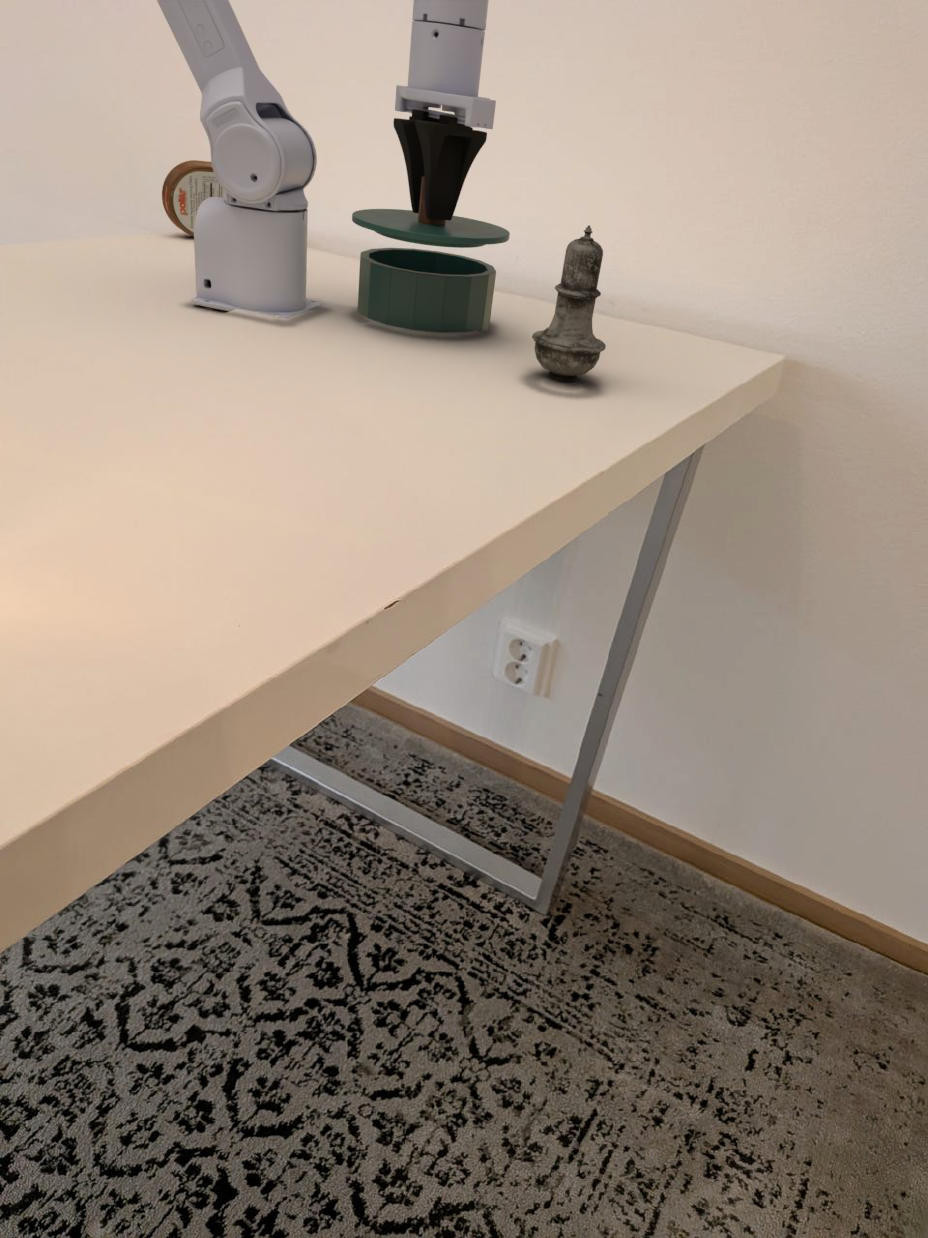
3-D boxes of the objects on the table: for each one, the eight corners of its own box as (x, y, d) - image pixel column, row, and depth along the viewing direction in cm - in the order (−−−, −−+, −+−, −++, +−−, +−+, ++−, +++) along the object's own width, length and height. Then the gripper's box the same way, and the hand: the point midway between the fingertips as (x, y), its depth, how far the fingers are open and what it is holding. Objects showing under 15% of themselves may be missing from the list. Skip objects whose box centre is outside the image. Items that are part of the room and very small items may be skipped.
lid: (324, 230, 72) (326, 168, 70) (387, 216, 83) (391, 162, 81) (481, 259, 69) (489, 195, 67) (525, 240, 80) (533, 185, 78)
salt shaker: (549, 397, 68) (578, 230, 62) (512, 374, 72) (535, 216, 66) (611, 394, 71) (644, 234, 64) (571, 372, 75) (599, 220, 69)
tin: (281, 238, 115) (282, 165, 110) (290, 242, 112) (290, 169, 108) (163, 233, 107) (158, 156, 103) (169, 238, 105) (165, 160, 101)
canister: (335, 320, 81) (338, 258, 78) (386, 298, 91) (390, 242, 89) (465, 346, 78) (472, 283, 75) (502, 320, 89) (510, 263, 86)
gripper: (540, 35, 65) (513, 234, 72) (453, 32, 75) (437, 204, 82) (454, 21, 62) (435, 229, 69) (377, 19, 72) (367, 200, 79)
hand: (431, 216), depth 75 cm, fingers closed on lid, 2 cm apart
